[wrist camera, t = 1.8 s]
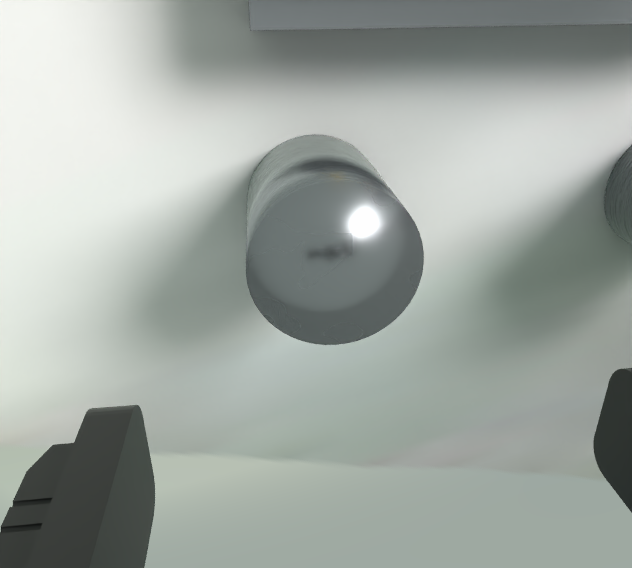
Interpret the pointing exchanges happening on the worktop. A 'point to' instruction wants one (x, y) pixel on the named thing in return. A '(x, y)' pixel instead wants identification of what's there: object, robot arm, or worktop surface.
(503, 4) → the scale
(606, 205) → the cylinder
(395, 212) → the cylinder
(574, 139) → the worktop surface
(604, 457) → the robot arm
